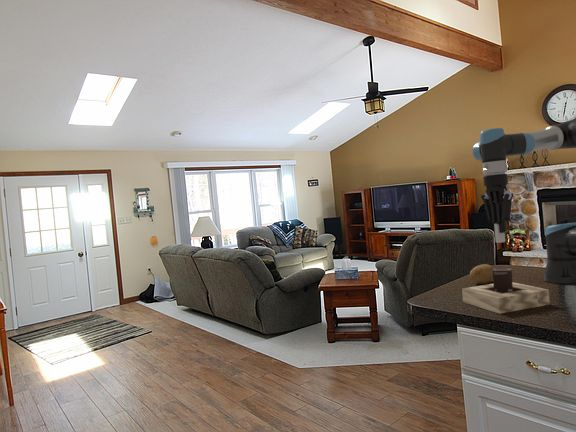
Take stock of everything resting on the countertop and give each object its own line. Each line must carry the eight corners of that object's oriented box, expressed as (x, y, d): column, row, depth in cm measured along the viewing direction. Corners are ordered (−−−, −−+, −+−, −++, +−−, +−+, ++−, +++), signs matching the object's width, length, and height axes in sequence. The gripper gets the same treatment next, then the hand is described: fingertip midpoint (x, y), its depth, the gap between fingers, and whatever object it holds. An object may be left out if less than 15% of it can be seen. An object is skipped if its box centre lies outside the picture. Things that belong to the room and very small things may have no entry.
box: (494, 304, 148) (492, 270, 147) (494, 301, 152) (492, 268, 151) (514, 305, 145) (511, 270, 144) (514, 302, 149) (511, 267, 148)
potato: (499, 280, 184) (497, 262, 184) (492, 287, 173) (491, 267, 172) (475, 279, 190) (473, 261, 190) (467, 286, 178) (466, 267, 178)
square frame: (509, 294, 159) (508, 281, 159) (549, 304, 142) (548, 289, 142) (463, 302, 154) (461, 288, 154) (499, 313, 137) (498, 298, 137)
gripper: (472, 176, 152) (478, 242, 153) (499, 173, 139) (505, 244, 140) (490, 174, 154) (496, 239, 155) (518, 171, 141) (524, 242, 142)
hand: (500, 242), depth 148 cm, fingers closed
